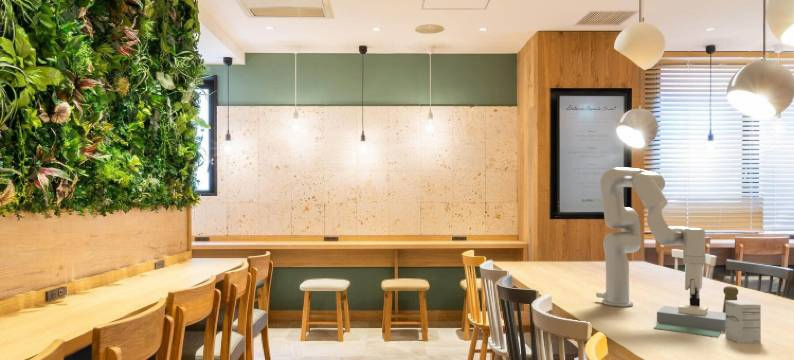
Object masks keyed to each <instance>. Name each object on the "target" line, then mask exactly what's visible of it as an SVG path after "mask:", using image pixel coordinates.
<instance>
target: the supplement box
mask: <svg viewBox="0 0 794 360" xmlns="http://www.w3.org/2000/svg"><path fill="white" fill-rule="evenodd" d="M725 308H726V312H725V313H726V331H725V338H726V339H730V340H732V341H735V342H738V344H761V342H762V341H761V340H762V336H761V335H762V334H761V333H762V332H761V330H762V329H761V328H762V326H761V325H762V324H761V322H762V321H761V318H762V317H761V316H762V315H761V313H762V312H761V311H762V310H761V304H758V303H754V302H751V301H748V300H745V299H737V300H727V301H725Z"/></svg>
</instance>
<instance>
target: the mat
mask: <svg viewBox="0 0 794 360" xmlns="http://www.w3.org/2000/svg"><path fill="white" fill-rule="evenodd" d="M653 329H654V330H661V331H669V332H675V333H676V332H677V333H682V334H691V335H698V336H703V337H711V338H719V337H720V335H721V333H722V331H719V330H712V329H704V328H696V327H689V326H681V325H674V324H666V323H657V324H656V325H655V326H654V327H653Z"/></svg>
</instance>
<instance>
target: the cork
mask: <svg viewBox="0 0 794 360" xmlns="http://www.w3.org/2000/svg"><path fill="white" fill-rule="evenodd" d="M722 290H723V291H722V292H723V294H724V298H723V299H724V300H723V306H722V311H721V312H722V313H725V312H726V308H725V301H727V300H738V294H739V289H738V288H737V287H736V286H731V285H730V286H729V285H728V286H724V287H723V289H722Z"/></svg>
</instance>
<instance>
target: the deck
mask: <svg viewBox="0 0 794 360" xmlns="http://www.w3.org/2000/svg"><path fill="white" fill-rule="evenodd" d="M678 307H679V306H678ZM678 307H677V306H671V305H670V306H668V305H663V306H662V307H661V308H660V309H658V310H657V312H656V323H657V324H658V323H666V324H674V325H681V326H689V327H696V328H704V329H712V330H719V331H721V332H726V313H722V312H723V311H712V310H708V313H707V314H706V315H698V314H689V313H681V312H678Z"/></svg>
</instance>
